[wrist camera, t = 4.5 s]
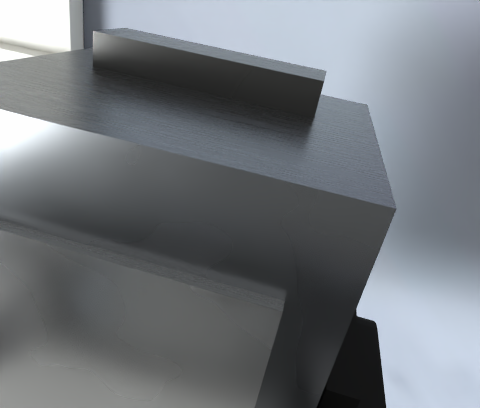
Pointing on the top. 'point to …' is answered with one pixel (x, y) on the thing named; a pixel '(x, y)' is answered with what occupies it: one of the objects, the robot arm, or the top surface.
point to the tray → (39, 27)
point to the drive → (179, 226)
